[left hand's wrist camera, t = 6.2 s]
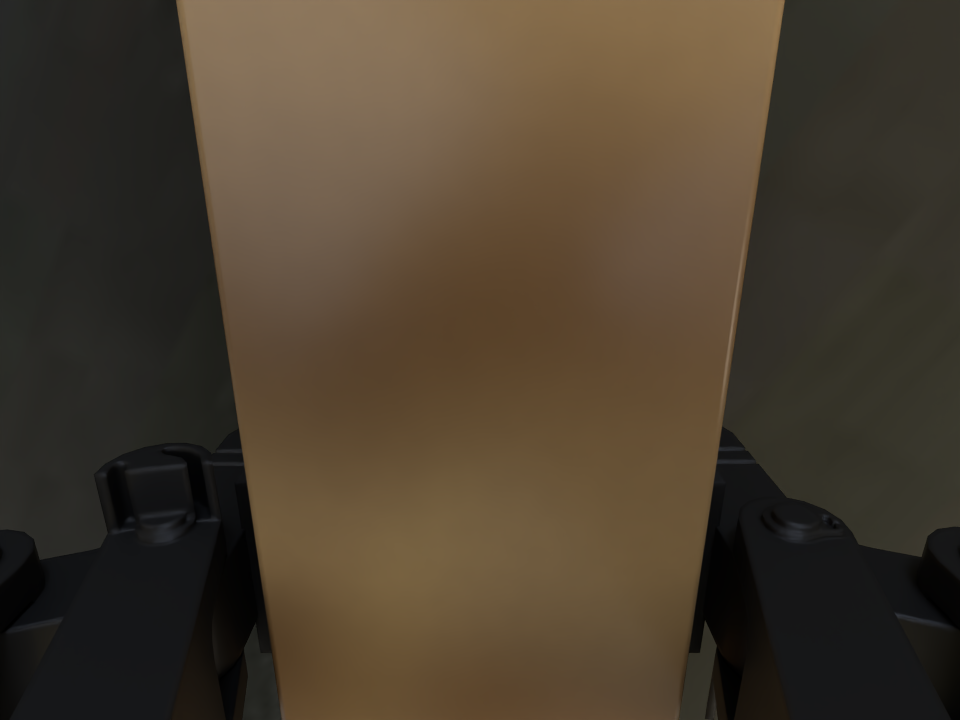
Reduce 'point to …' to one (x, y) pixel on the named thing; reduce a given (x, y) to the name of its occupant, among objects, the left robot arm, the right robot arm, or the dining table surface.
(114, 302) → the dining table surface
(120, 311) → the dining table surface
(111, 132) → the dining table surface
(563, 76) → the bar
